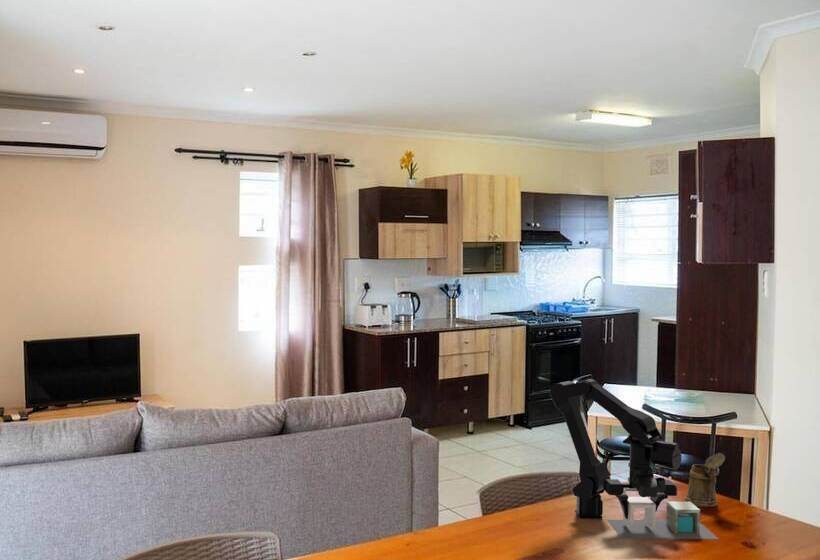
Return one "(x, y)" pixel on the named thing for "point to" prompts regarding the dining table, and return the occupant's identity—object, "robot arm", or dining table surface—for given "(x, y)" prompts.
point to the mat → (656, 531)
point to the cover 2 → (682, 508)
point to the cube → (685, 522)
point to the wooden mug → (704, 482)
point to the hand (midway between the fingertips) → (639, 518)
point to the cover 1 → (641, 503)
